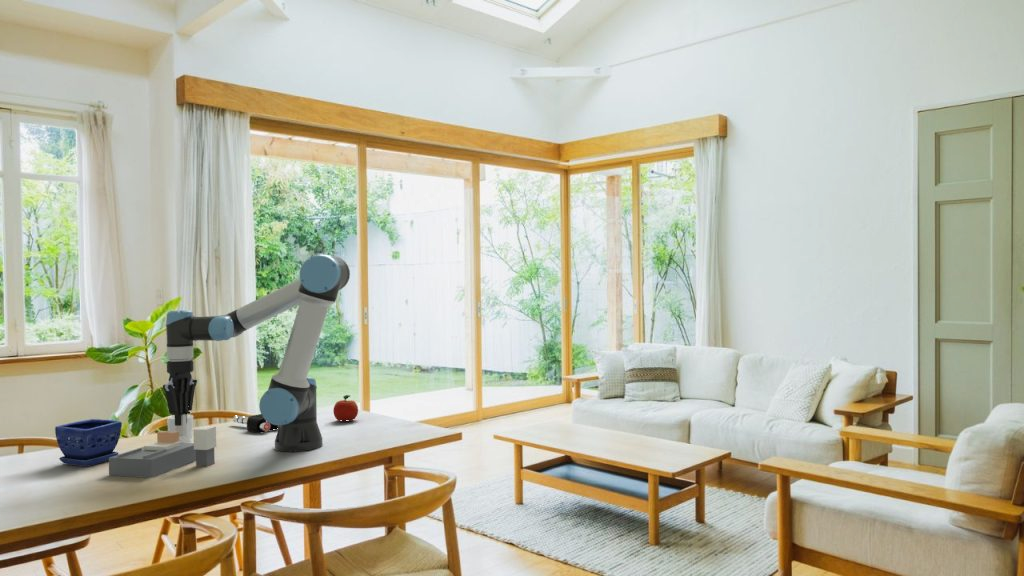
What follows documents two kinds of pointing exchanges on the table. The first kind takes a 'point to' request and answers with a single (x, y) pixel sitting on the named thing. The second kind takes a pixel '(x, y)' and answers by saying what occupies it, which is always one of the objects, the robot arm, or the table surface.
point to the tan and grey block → (165, 441)
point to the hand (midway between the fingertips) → (181, 435)
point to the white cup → (189, 428)
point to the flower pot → (88, 441)
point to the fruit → (345, 409)
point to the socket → (151, 461)
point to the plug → (204, 445)
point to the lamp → (255, 423)
